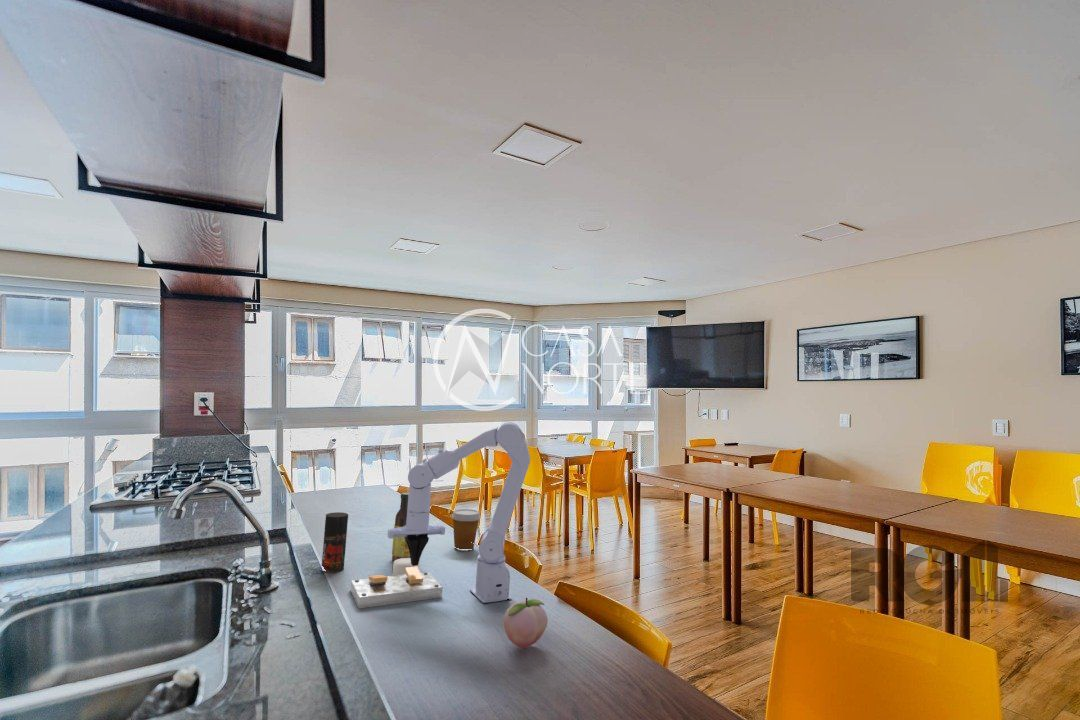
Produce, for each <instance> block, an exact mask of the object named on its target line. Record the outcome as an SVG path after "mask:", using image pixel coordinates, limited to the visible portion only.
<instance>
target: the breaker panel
mask: <svg viewBox="0 0 1080 720" xmlns="http://www.w3.org/2000/svg"><path fill="white" fill-rule="evenodd" d="M420 573H421V575H422V577H423V582H420V583H412V584H410V582H409V580H408V578H407V575H406V574H405V575H396V576H393V575H389V576H386V577H387V582H378V583H373V582H371V581H369V577H368V578H361V579H353V580H352V579H351V581H350V592H351V596H352V598H353V599H354V602H355V604H356V606H357V609H366V608H372V607H373V608H374V607H381V606H387V605H395V604H402V603H409V602H416V601H417V602H418V601H425V600H433V599H438V598H439V599H441V598H443V586H442V584H440V582H438V580H437V579H436V578H435V577H434V576H433V575H432V574H431V572H429V571H425V572H420Z"/></svg>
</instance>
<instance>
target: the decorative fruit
mask: <svg viewBox="0 0 1080 720" xmlns="http://www.w3.org/2000/svg"><path fill="white" fill-rule="evenodd" d="M542 606H545V603H544V602H542V601H541V600H540V599H534V598H532V599H531V598H530V599H529V600H528V597H525V600H520V601H516V602H515V603H513V604H511V605H510V606H509V607H508V608H507V609H506V611H505V613H504V616H503V629H504V632H505V635H506V637H507V638H508V640H509V641H510V642H511V643H512V644H513V645H515V646H517V647H520V648H522V649H526V648H528V647H531V646H532V645H535V644H536V643H537V642H538V641H539V640H540V638H541V637H542V636H543V634H544V632H546V629H547V626H548V615H547V612H546V610H545V609H544V608H543V607H542Z"/></svg>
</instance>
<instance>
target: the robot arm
mask: <svg viewBox="0 0 1080 720" xmlns="http://www.w3.org/2000/svg"><path fill="white" fill-rule="evenodd" d="M497 446H500V447H501V448H502V449H503V450H505V452H506V453H507V455H508V457H509V459H510V461H511V464H510V467H509V470H508V473H507V476H506V479H505V482H504V484H503V487H502V490H501V493H500V496H499V498H498V503H497V504H496V507H495V511H494V514H493V515H492V518H491V521H490V524H489V527H488V528H487V529H486V530H485V531H484V532H483V533H482V536H481V540H480V543H479V546H478V555H477V561H476V575H475V576H476V578H475V587H470V588H469V591H470V592H471V593H472V594H473V595H474V596H475V597H476V598H477V599H478V600H479V601H480V602H481V604H487V603H495V602H502V601H508V600H507V599H509V600H512V599H511V598H513V597H512V595H510V584H511V583H510V580H511V574H510V570H509V568H508V567H507V566H506V555H505V553H504V550H505V548H504V547H505V543H506V534H507V532H508V531H507V530H508V527H509V525H510V521H511V518H512V515H513V513H514V510H515V507H516V504H517V502H518V499H519V495H520V492H521V489H522V487H523V483H524V481H525V478H526V476H527V473H528V469H529V466H530V463H531V456H530V452H529V448H528V444H527V441H526V436H525V434H524V432H523V431H522V429H521V428H520V426H519V425H518V424H516V423H514V422H509V421H508V422H506V423H503V424H502V425H501V426H500V427H499V425H498V426H496V427H494V428H493V427H492V428H491V429H488V430H485V431H483V432H482V433H479V435H477V436H476V437H474V438H472V439H470V440H469V441H466V442H465V443H464V444H462V445H460V446H459V447H457V448H456V449H454V448H453V449H452V448H449V447H447V448H445V449H444V448H441V449H439V450H438V451H437V452H438V453H436V454H434V455H432V456H431V457H429V458H424V459H422V463H419V464H415V465H414V466H413V467H412V468H411V469H410V470H409V472H408V474H407V480H408V483H409V487H408V488H409V489H408V490H409V491H408V493H409V494H408V508H407V521H406V527H400V528H394V527H393V528H388V529H387V538H388V539H393V538H394V537H405V540H406V543H407V545H408V549H409V552H410V558H411V564H412V565H413V566H416V565H418V563H419V561H420V560H421V556H422V554H423V551H424V550H425V548H426V546H427V544H428V543H429V539H430V537H429V536H432V535H433V536H435V535H442V536H444V535H445V534H446V526H444V525H430V515H431V513H430V511H431V499H432V497H431V495H432V492H431V491H432V490H431V489H432V481H433V480H438V479H439V478H442V477H443V476H444V475H446V474H448V473H450V472H452V471H454V470H456V469H457V468H458V467H459V464H460V462H461V460H463V459H465V458H467V457H469V456H471V455H472V454H474V453H476V452H478V451H480V450H482V449H484V448H486V447H491V448H492V447H493V448H495V447H497Z"/></svg>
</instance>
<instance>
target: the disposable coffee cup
mask: <svg viewBox="0 0 1080 720" xmlns="http://www.w3.org/2000/svg"><path fill="white" fill-rule="evenodd" d="M451 518H452V521H453V523H452V524H453V526H452V527H453V546H455V547H456V548H459V549H473V548H474V547H475V543H476V542H475V541H476V538H477V531H478V525H479V520H480V518H481V514H480V511H479V510H476V509H472V508H471V509H469V508H459V509H454V511H453V513H452V514H451ZM471 542H472V543H471ZM473 543H474V544H473ZM473 550H474V549H473Z"/></svg>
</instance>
